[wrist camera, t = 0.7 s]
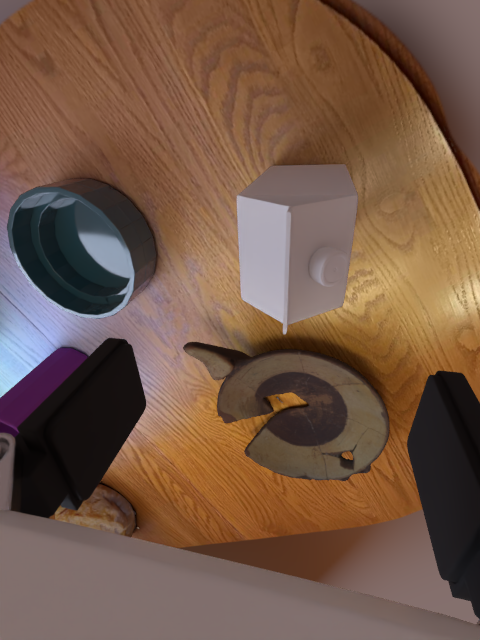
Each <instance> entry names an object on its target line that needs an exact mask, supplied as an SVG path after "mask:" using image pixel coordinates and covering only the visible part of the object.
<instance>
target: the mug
mask: <svg viewBox="0 0 480 640" xmlns="http://www.w3.org/2000/svg"><path fill="white" fill-rule="evenodd" d="M87 358H88V357H87V356H86V355H85V354H83V353H81V352H79V351H76V350H74V349H72V348H59V349H57V350H56V351H55V352H53V353H52V354H51V355H50V356H48V357H47V358H46V359H45V360H44V361H43V362H41V363H40V364H39V365H38V366H37V367H36V368H34V369H33V370H32V371H31V372H30V373H29V374H28V375H26V376H25V377H24V378H23V379H22V380H21V381H19V382H18V383H17V384H16V385H15V386H14V387H13V388H11V389H10V390H9V391H8V392H7V393H6V394H4V395H3V396H2V397H1V398H0V433H8V434H11V435H12V436H13V437H15V436H16V435H17V434H18V433H19V431H18V430H17V427H18V426H19V425H20V424H21V423H22V422H23V421H24V420H25V419H26V418H27V417H28V416H29V415H30V414H31V413H32V412H33V411H34V410H35V409H36V408H37V407H38V406H39V405H40V404H41V403H42V402H43V401H44V400H45V399H46V398H47V397H48V396H49V395H50V394H51V393H52V392H53V391H54V390H56V389H57V388H58V387H59V386H60V385H61V384H62V383H63V382H64V381H65V380H66V379H67V378H68V377H69V376H70V375H71V374H72V373H73V372H74V371H75V370H76V369H77V368H78V367H79V366H80V365H81V364H82V363H83V362H84V361H85V360H86V359H87Z"/></svg>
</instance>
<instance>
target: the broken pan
mask: <svg viewBox="0 0 480 640" xmlns="http://www.w3.org/2000/svg"><path fill="white" fill-rule="evenodd" d="M183 349H184V350H185V352H186V353H187V354H189V355H191V356H193V357H195V358H196V359H198V360H200V361H201V362H203V363H204V364H205V366H206V367H207V369H208V371H209V373H210V375H211V377H212V378H213V379H214V380H220V379H224V378H225V377H226V379H225V380H224V382H223V384H222V386H221V388H220V391H219V394H218V402H217V408H218V416H221V417H222V418H223V421H224V423H232V422H234V421H238V420H241V419H248V418H251V417H256V416H260V415H265V414H269V413H272V412H273V411H274V410H273V407H272V406H271V405H270V402H268V400H267V399H266V398H264V397H266V396H271V395H275V394H283V393H289V392H292V393H295V394H296V395H297V396H298V397H300V398H301V399H303V400H304V401H306V402H307V403H308V404H309V406H306V407H296V408H290V409H285V410H283V411H281V412H278V413H277V414H275V416H273V417H272V418H271V419H270V420H269V421H268V422H267V424H265V425H264V426H263V427H262V428H261V430H260V431H259V433H257V435H256V436H254V438H253V439H252V440H251V442H250V443H249V444H248V446H247V447H246V449H245V451H244V452H245V454H246V456H247V457H249V458H251V459H253V460H254V461H255V462H256V463H258V464H259V465H261V466H263V467H266V468H268V469H269V470H272V471H273V472H275V473H278V474H281V475H284V476H288V477H292V478H302V479H309V480H311V479H315V480H330V479H332V480H340V481H346V480H348V479H349V477H350V476H351V475H352V474H357V473H368V472H369V471H370V467H371V466H370V465H371V463H372V462H373V461H375V460H376V459H377V458H378V457H379V455H380V454H381V452H382V450H383V449H384V447H385V445H386V443H387V441H388V437H389V417H388V413H387V409H386V407H385V404H384V402H383V400H382V398H381V396H380V395H379V393H378V392H377V391H376V389H375V388H374V387H373V386H372V385H371V383H370V382H369V381H368V380H367V379H366V378H365V377H364V376H363V375H362V374H360V373H359V372H358V371H357V370H355V369H354V368H352V367H351V366H349V365H348V364H346V363H344V362H342V361H340V360H338V359H336V358H333V357H330V356H327V355H325V354H321V353H317V352H312V351H306V350H297V349H281V350H274V351H269V352H264V353H261V354H258V355H256V356H254V357H250V356H248V355H246V354H245V353H243V352H240V351H237V350H232V349H227V348H223V347H218V346H213V345H209V344H204V343H199V342H189V343H187V344H186V345H184V347H183ZM276 398H278V397H276ZM278 399H279V398H278ZM281 402H282V401H281ZM346 451H350V452H351V453H352V455H353V460H349V459H345V458H343V457H342V456H341V454H342V453H343V452H346Z"/></svg>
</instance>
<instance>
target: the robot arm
mask: <svg viewBox="0 0 480 640" xmlns="http://www.w3.org/2000/svg"><path fill="white" fill-rule="evenodd" d="M145 408H146V399H145V395H144V391H143V387H142V383H141V379H140V375H139V371H138V368H137V364H136V360H135V356H134V352H133V348H132V346H131V345H130V344H128V342H127V341H126V340H125V339H116V338H108V339H106V340H105V341H104V342H103V343H102V344H101V345H100V346H99V347H98V348H97V349H96V350H95V351H94V352H93V353H92V354H91V355H90V356H89V357H88V358H87V359H86V360H85V361H84V362H83V363H82V364H81V365H80V366H79V367H78V368H77V369H76V370H75V371H74V372H73V373H72V374H71V375H70V376H69V377H68V378H67V379H66V380H65V381H64V382H63V383H62V384H61V385H60V386H59V387H58V388H57V389H56V390H54V391H53V392H52V393H51V394H50V395H49V396H48V397H47V398H46V399H45V400H44V401H43V402H42V403H41V404H40V405H39V406H38V407H37V408H36V409H35V410H34V411H33V412H32V413H31V414H30V415H29V416H28V417H27V418H26V419H25V420H24V421H23V422H22V423H21V424H20V425H19V426H18V427H17V430H18V431H19V433H18V434H17V435H16V436H15V437H13V436H12V435H11V434H8V433H0V640H480V403H479V401H478V399H477V397H476V396H475V394H474V392H473V390H472V388H471V387H470V385H469V383H468V381H467V379H466V378H465V376H464V375H463V374H462V373H457V372H447V371H437V373H436V374H435V375H430V376H429V377H428V379H427V382H426V385H425V388H424V391H423V394H422V397H421V400H420V403H419V406H418V409H417V412H416V415H415V418H414V421H413V424H412V427H411V430H410V433H409V436H408V441H407V447H408V453H409V457H410V461H411V465H412V468H413V472H414V476H415V480H416V484H417V488H418V492H419V496H420V500H421V504H422V508H423V511H424V515H425V519H426V523H427V527H428V531H429V535H430V539H431V543H432V547H433V551H434V554H435V558H436V562H437V566H438V570H439V573H440V575H441V577H442V579H443V580H447V581H449V585H450V589H451V592H452V596H453V597H455V598H460V599H464V600H468V601H471V603H472V607H473V610H474V613H475V615H476V616H477V617H478V618H479V621H478V622H477V624H473V623H469V622H466V621H463V620H460V619H457V618H454V617H450V616H447V615H443V614H439V613H436V612H432V611H428V610H425V609H421V608H417V607H413V606H409V605H406V604H402V603H398V602H394V601H390V600H387V599H383V598H379V597H375V596H371V595H367V594H363V593H359V592H355V591H351V590H347V589H343V588H339V587H335V586H331V585H326V584H322V583H318V582H314V581H310V580H306V579H302V578H298V577H294V576H290V575H286V574H282V573H278V572H274V571H269V570H265V569H261V568H257V567H253V566H249V565H245V564H240V563H236V562H232V561H228V560H223V559H219V558H215V557H211V556H207V555H203V554H199V553H194V552H190V551H186V550H182V549H178V548H174V547H169V546H165V545H161V544H157V543H153V542H148V541H144V540H140V539H136V538H131V537H127V536H123V535H118V534H114V533H110V532H106V531H101V530H97V529H93V528H88V527H84V526H80V525H76V524H71V523H67V522H63V521H58V520H55V512H56V511H57V509H58V508H59V506H60V505H61V507H63V508H67V509H71V510H76V511H77V510H78V509H79V507H80V506H81V504H82V503H83V501H85V500H87V499H89V498H90V496H91V495H92V493H93V492H94V490H95V489H96V487H97V486H98V484H99V482H100V481H101V479H102V478H103V476H104V474H105V473H106V471H107V470H108V468H109V466H110V465H111V463H112V462H113V460H114V458H115V457H116V455H117V454H118V452H119V450H120V449H121V447H122V446H123V444H124V443H125V441H126V439H127V438H128V436H129V435H130V433H131V431H132V430H133V428H134V427H135V425H136V423H137V422H138V420H139V419H140V417H141V415H142V414H143V412H144V410H145Z"/></svg>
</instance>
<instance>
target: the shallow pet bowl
mask: <svg viewBox="0 0 480 640" xmlns="http://www.w3.org/2000/svg"><path fill="white" fill-rule="evenodd" d="M7 231H8V237H9V244H10V248H11V251H12V253H13V255H14V258H15V260H16V262H17V265H18V267H19V268H20V270H21V271H22V273H23V274H24V276H25V277H26V278H27V280H28V281H29V283H30V284H31V285H32V286H33V287H34V288H35V289H36V290H37V291H38V292H39V293H40V294H41V295H42V296H43V297H44V298H45V299H47V300H48V301H49V302H51V303H52V304H54V305H56V306H57V307H59V308H60V309H62V310H63V311H66V312H68V313H71V314H74V315H77V316H79V317H83V318H94V319H100V318H104V317H109V316H113V315H115V314H116V313H118V312H119V311H120V310H122V309H123V308H124V307H126V306H127V305H128V304H129V303H130V302H131V301H132V300H133V299H134V298H135V297H136V296H137V295H138V294H139V293H140V292H141V291H142V290H144V289H145V288H146V287H147V285H148V283H149V282H150V280H151V278H152V276H153V274H154V270H155V263H156V251H155V245H154V240H153V237H152V234H151V232H150V230H149V228H148V225H147V223H146V221H145V219H144V217H143V216H142V215H141V213H140V212H139V211H138V210H137V209H136V207H135V206H134V205H133V204H132V203H131V201H130V200H129V199H128V198H126V197H125V196H124V195H122V194H121V193H119V192H118V191H117V190H115V189H114V188H113V187H111V186H109V185H107V184H104V183H101V182H98V181H96V180H93V179H89V178H85V179H68V180H64V181H59V182H55V183H51V184H47V185H43V186H39V187H36V188H33V189H31V190H29V191H27V192H25V193H23V194H21V195H20V196H19V198H18V199H17V200H16V202H15V203H14V205H13V206H12V207H11V209H10V214H9V219H8V224H7Z"/></svg>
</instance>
